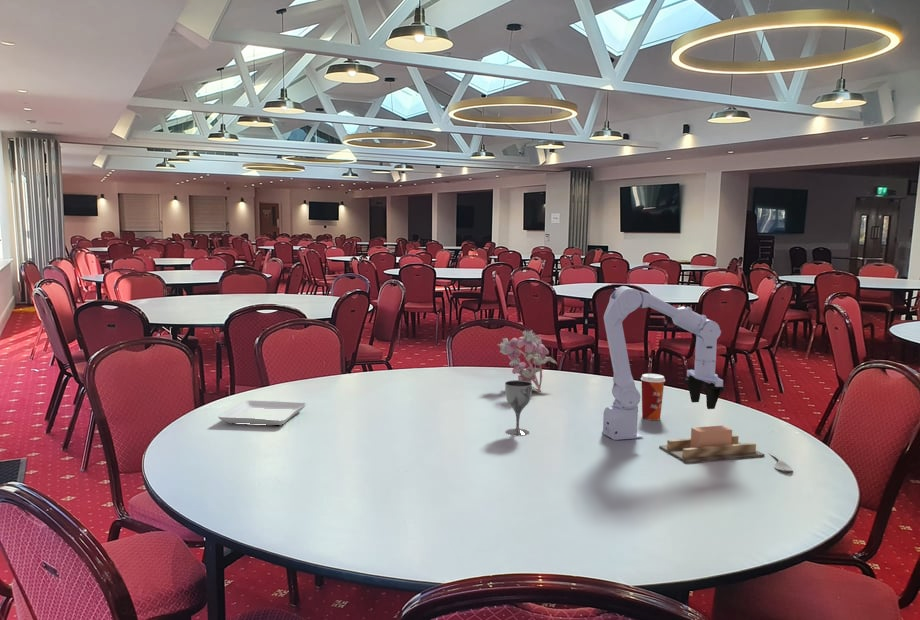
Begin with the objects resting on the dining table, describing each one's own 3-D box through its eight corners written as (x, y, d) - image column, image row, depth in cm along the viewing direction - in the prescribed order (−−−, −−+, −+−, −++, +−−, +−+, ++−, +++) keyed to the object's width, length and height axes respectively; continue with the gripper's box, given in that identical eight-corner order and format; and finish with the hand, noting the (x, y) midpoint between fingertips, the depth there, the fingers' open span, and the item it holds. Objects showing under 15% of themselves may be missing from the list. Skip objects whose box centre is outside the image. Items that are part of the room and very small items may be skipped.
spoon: (777, 475, 163) (778, 468, 163) (761, 449, 183) (761, 443, 183) (795, 476, 162) (796, 470, 162) (777, 450, 182) (777, 444, 182)
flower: (575, 384, 252) (553, 324, 257) (551, 389, 233) (528, 324, 238) (531, 399, 262) (511, 341, 267) (505, 406, 243) (484, 343, 248)
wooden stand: (686, 463, 170) (687, 453, 169) (659, 447, 182) (659, 437, 182) (764, 456, 176) (765, 446, 175) (732, 441, 188) (733, 432, 188)
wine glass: (499, 433, 193) (500, 384, 192) (510, 426, 200) (511, 379, 199) (524, 437, 190) (525, 387, 188) (534, 430, 197) (535, 382, 195)
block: (721, 446, 182) (723, 425, 181) (731, 450, 178) (732, 429, 177) (690, 448, 179) (691, 427, 179) (699, 453, 176) (700, 432, 175)
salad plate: (307, 411, 217) (307, 401, 216) (284, 430, 196) (284, 419, 195) (246, 409, 219) (246, 399, 218) (217, 427, 198) (216, 416, 197)
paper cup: (658, 422, 207) (660, 379, 205) (635, 418, 211) (637, 376, 210) (667, 417, 213) (669, 375, 211) (644, 413, 217) (646, 372, 216)
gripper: (733, 364, 184) (730, 411, 186) (702, 355, 198) (699, 398, 200) (711, 365, 182) (709, 412, 184) (681, 355, 196) (679, 399, 198)
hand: (702, 405), depth 192 cm, fingers open, 7 cm apart
